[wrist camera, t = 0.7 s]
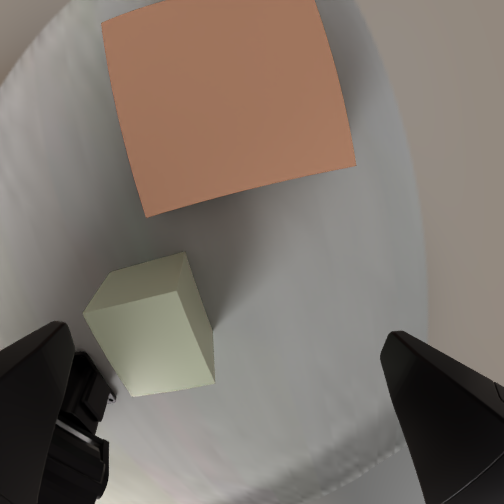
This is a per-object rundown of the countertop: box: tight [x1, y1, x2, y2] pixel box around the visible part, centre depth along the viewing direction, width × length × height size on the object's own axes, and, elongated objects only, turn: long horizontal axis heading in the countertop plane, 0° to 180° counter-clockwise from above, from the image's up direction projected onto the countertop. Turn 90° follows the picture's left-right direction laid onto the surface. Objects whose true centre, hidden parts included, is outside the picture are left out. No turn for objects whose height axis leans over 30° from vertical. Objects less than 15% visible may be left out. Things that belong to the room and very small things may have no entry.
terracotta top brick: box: [101, 0, 356, 218], centre depth 14 cm, size 11×11×3 cm
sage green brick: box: [82, 252, 215, 397], centre depth 19 cm, size 6×7×6 cm
